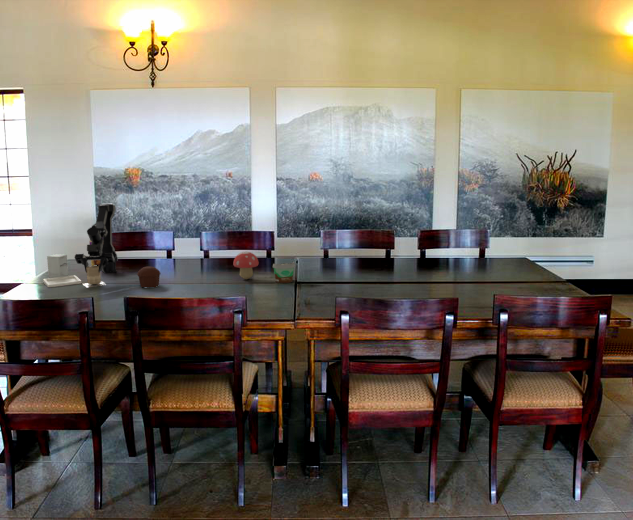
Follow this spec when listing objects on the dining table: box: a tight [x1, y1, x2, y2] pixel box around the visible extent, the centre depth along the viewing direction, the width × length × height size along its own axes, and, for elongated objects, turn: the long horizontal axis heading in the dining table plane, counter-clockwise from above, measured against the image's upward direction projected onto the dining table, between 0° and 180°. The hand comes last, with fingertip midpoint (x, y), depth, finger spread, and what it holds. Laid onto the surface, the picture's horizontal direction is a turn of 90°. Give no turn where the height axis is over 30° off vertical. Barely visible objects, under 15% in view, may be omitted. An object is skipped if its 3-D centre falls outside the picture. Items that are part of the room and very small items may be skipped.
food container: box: [272, 261, 296, 284], centre depth 300 cm, size 12×6×10 cm, turn 117°
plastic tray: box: [42, 274, 83, 288], centre depth 300 cm, size 16×16×2 cm
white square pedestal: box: [82, 280, 107, 288], centre depth 296 cm, size 10×10×6 cm
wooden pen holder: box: [86, 265, 102, 284], centre depth 295 cm, size 6×6×8 cm
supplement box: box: [46, 253, 69, 278], centre depth 313 cm, size 7×7×13 cm
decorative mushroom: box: [233, 251, 260, 280], centre depth 307 cm, size 13×13×15 cm
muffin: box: [136, 266, 161, 288], centre depth 293 cm, size 12×11×10 cm
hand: (92, 272), depth 293 cm, fingers closed on wooden pen holder, 6 cm apart
